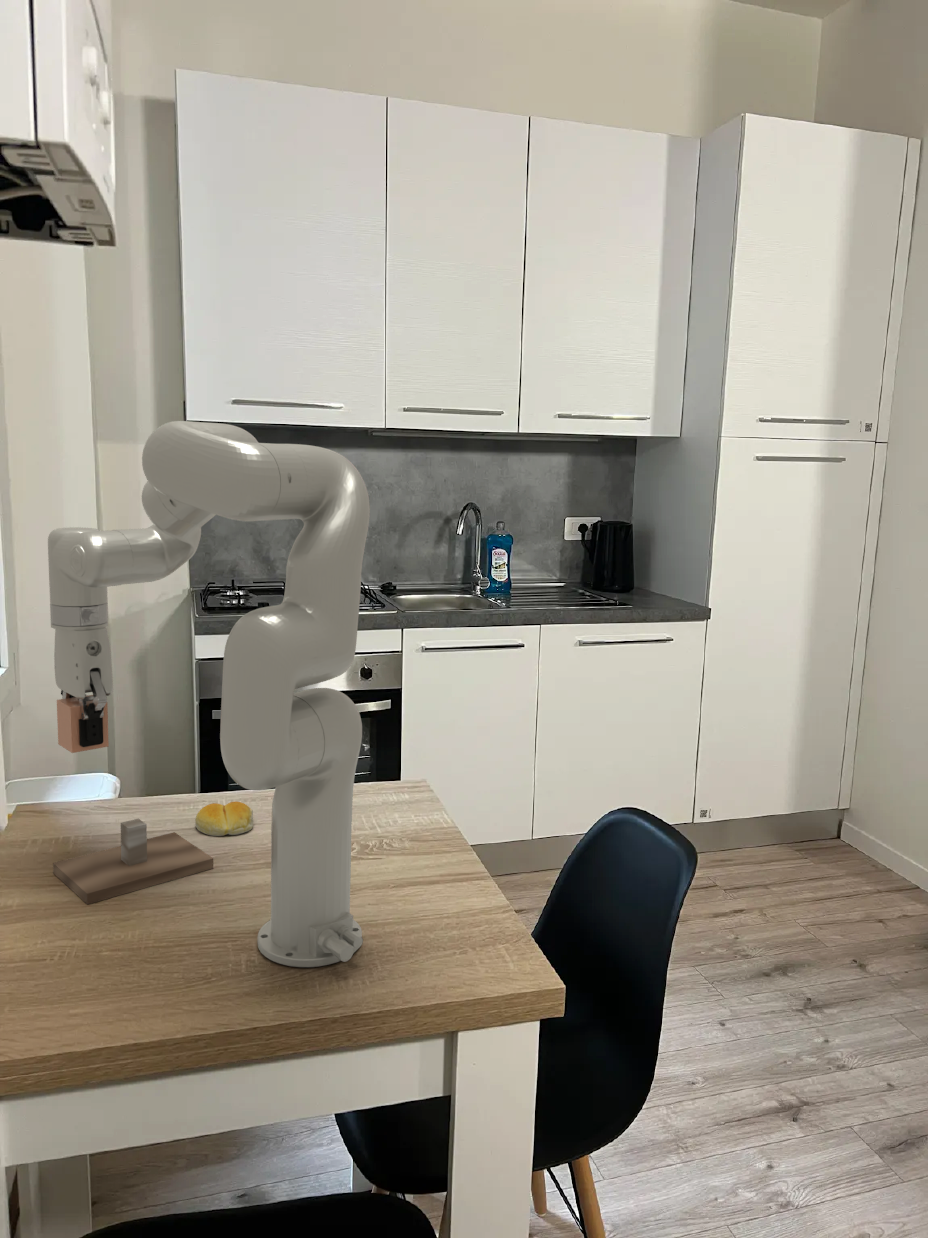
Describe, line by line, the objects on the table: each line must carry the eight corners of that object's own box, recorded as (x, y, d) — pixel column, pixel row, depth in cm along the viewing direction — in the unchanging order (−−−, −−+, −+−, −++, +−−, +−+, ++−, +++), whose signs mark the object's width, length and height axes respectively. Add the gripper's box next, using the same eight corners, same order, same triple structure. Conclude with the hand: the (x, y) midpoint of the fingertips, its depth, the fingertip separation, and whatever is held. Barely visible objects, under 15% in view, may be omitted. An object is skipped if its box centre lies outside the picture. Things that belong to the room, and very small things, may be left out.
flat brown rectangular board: (213, 868, 136) (213, 821, 135) (87, 904, 124) (85, 853, 123) (174, 841, 144) (174, 797, 143) (53, 873, 132) (51, 825, 131)
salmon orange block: (108, 746, 137) (107, 702, 136) (72, 753, 134) (70, 707, 132) (94, 738, 141) (92, 694, 140) (58, 744, 137) (56, 699, 136)
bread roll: (196, 819, 154) (196, 796, 153) (253, 817, 156) (253, 794, 155) (193, 840, 146) (193, 815, 145) (253, 837, 148) (253, 812, 147)
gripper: (131, 622, 130) (134, 750, 133) (82, 605, 143) (86, 723, 146) (76, 627, 125) (80, 760, 128) (30, 609, 138) (35, 731, 141)
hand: (83, 739), depth 137 cm, fingers closed on salmon orange block, 5 cm apart
